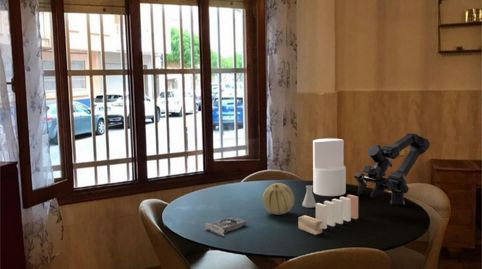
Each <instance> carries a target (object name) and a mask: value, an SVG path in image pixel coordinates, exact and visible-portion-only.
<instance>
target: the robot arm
mask: <svg viewBox="0 0 482 269" xmlns="http://www.w3.org/2000/svg"><path fill="white" fill-rule="evenodd" d="M430 145H431V143H430V141H429V139H428V138H425V137H423V136H420V135H418V134H416V133H411V132H409V133H407V134H405V135H404V136H403V137H401V138H400V139H398V140H397V141H395V142H393V143H388V144H385V145H383V146H382V147H381V145H380V144H378V143H377V144H375V145H374V146H371V147H370V148H369V149H368V150H367V155H368V156H369V157H370V159H371V160H372V161H373V163H375V164H374V166H373V165H367V164H364V165H363V167H362V169H361V170H362V172H358V171H357V172H355V173H354V175H353V177H354V179H355V180H356V182H357V183H358V189H357V195H358V196H359V195H361V194H362V192H364V190H365V189H366V188H367V186H368V184H367V183H368V182H369V183H373V184H375V186H374V188H373V189H372V192H371V194H370V196H369V197H370V198H371V199H372V198H374V197H376V196H377V195H379V194H380V193H383V192H384V191H391V200H389V201H390V202H389V203H390V205H391V206H392V205H393V206H406V203H405V200H404V198H405V196H404V194H407V193H409V190H410V187H409V186H408V184H407V176H408V174H409V172H410V171H411V169H412V168H413V166H414V165H415V163H416V162H417V160H418V158H419V157H420V156H421V155H423V154H424V153H426V152H427V150H428V149H429V148H430ZM407 147H409V149H410V150H409V152H408V153H407V155H406V157H405V158H404V159H403V160H402V163H400V165H399V167H398V169H397V170H396V171H392V170H391V172H390V173H389V175H388V176H387V177H386V172H387V170H388V168H389V167H391V168H392V167H393V164H392V161H391V160H396V159H397V158H398V157H399V156H400V155H401V152H402V150H405V149H406V148H407ZM389 159H390V160H389ZM365 173H366V174H365Z"/></svg>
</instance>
